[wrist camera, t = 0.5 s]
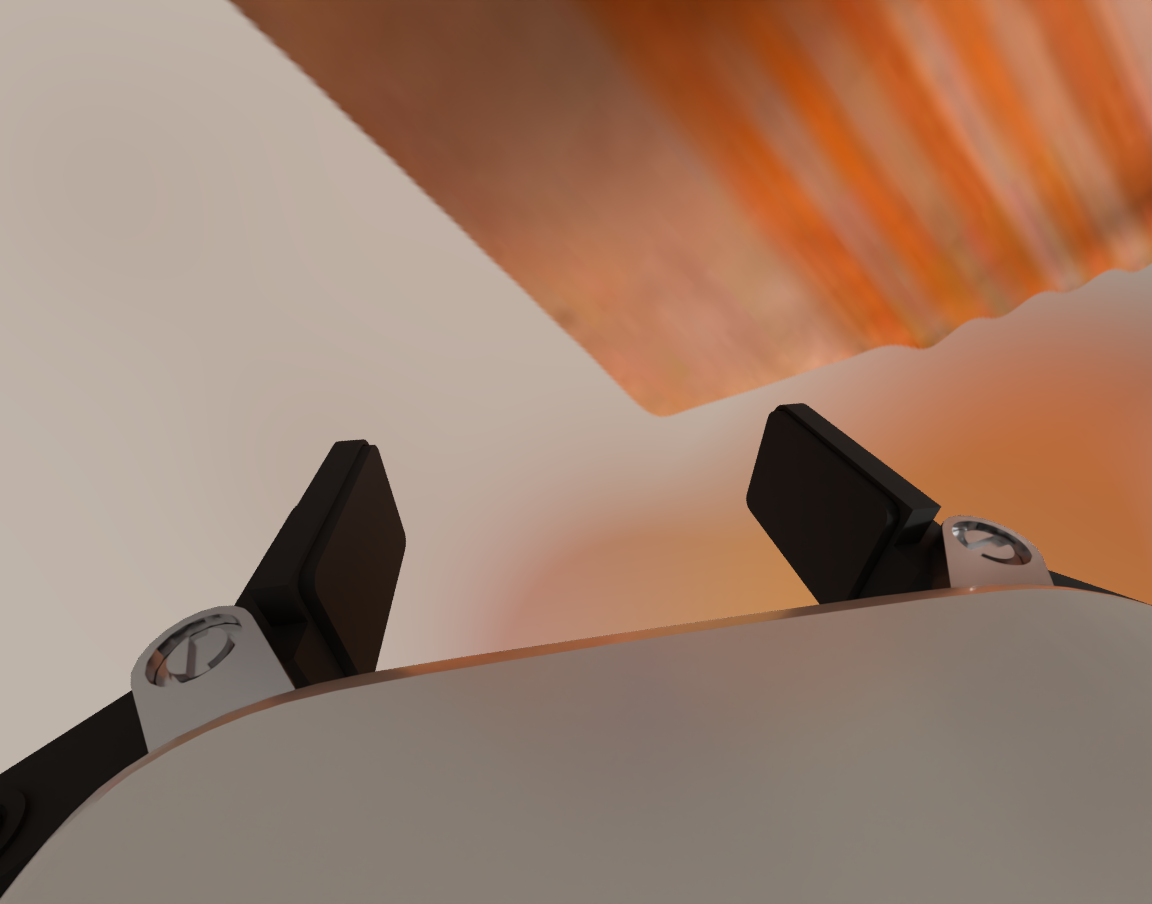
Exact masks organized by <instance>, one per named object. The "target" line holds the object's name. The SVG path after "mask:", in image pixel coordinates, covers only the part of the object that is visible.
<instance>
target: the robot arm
mask: <svg viewBox="0 0 1152 904" xmlns="http://www.w3.org/2000/svg"><path fill="white" fill-rule="evenodd" d="M746 501H747V505H748V508H749V509H750V511H751V512H752V514H753V515H754V517H755V518H756V519H757V521H758V522H759V523H760V525H761V526H762V527H763V529H764V530H765V531H766V533H767V534H768V535H769V537H770V538H771V539H772V541H773V542H774V544H775V545H776V546H777V548H779V550H780V552H781V553H782V554H783V556H784V557H785V558H786V560H787V561H788V562H789V564H790V565H791V566H792V568H793V569H794V570H795V572H796V573H797V574H798V576H799V577H800V578H801V580H802V581H803V583H804V584H805V585H806V586H807V588H808V589H809V590H810V592H811V593H812V595H813V596H814V597H815V599H816V600H817V601H818V603H819V604H820V605H814V606H806V607H799V608H792V609H785V610H777V611H770V612H763V613H757V614H749V615H743V616H736V617H728V618H722V619H715V620H708V621H701V622H695V623H687V624H680V625H673V626H666V627H660V628H653V629H646V630H639V631H633V632H625V633H619V634H612V635H605V636H599V637H592V638H585V639H579V640H572V641H565V642H559V643H552V644H545V645H539V646H532V647H526V648H519V649H512V650H506V651H499V652H493V653H486V654H479V655H473V656H466V657H460V658H454V659H448V660H442V661H436V662H430V663H425V664H418V665H412V666H407V667H400V668H394V669H388V670H382V671H376V672H375V670H376V665H377V662H378V657H379V653H380V649H381V645H382V641H383V637H384V633H385V629H386V625H387V621H388V616H389V612H390V609H391V604H392V600H393V596H394V592H395V588H396V584H397V580H398V576H399V572H400V568H401V564H402V560H403V556H404V552H405V547H406V538H405V532H404V529H403V526H402V523H401V520H400V516H399V513H398V510H397V507H396V504H395V501H394V497H393V494H392V491H391V488H390V484H389V481H388V478H387V475H386V472H385V469H384V466H383V463H382V459H381V456H380V453H379V450H378V448H377V447H376V446H375V445H369V444H368V442H367V441H366V440H364V439H363V440H350V441H339V442H336V443H335V444H334V445H333V447H332V448H331V450H330V452H329V453H328V455H327V457H326V458H325V460H324V462H323V463H322V465H321V467H320V468H319V470H318V472H317V473H316V475H315V477H314V478H313V480H312V482H311V483H310V485H309V487H308V488H307V490H306V492H305V493H304V495H303V497H302V498H301V500H300V502H299V503H298V505H297V506H296V507H295V508H294V509H293V510H292V511H291V513H290V515H289V516H288V518H287V520H286V521H285V523H284V525H283V526H282V528H281V529H280V531H279V533H278V535H277V536H276V538H275V539H274V541H273V543H272V544H271V546H270V548H269V549H268V551H267V552H266V554H265V556H264V557H263V559H262V561H261V562H260V564H259V566H258V567H257V569H256V571H255V572H254V574H253V576H252V577H251V579H250V581H249V582H248V584H247V585H246V587H245V589H244V590H243V592H242V594H241V595H240V597H239V599H238V600H237V602H236V603H235V605H234V606H219V607H215V608H211V609H208V610H204V611H201V612H198V613H196V614H194V615H192V616H190V617H187V618H185V619H183V620H182V621H180V622H179V623H177V624H175V625H174V626H172V627H170V628H169V629H167V630H166V631H165V632H163V633H162V634H161V635H160V636H159V637H158V638H156V639H155V640H154V641H153V642H152V643H151V644H150V645H149V646H148V647H147V648H146V649H145V651H144V652H143V653H142V654H141V656H140V657H139V658H138V660H137V662H136V664H135V666H134V668H133V670H132V672H131V688H132V690H131V691H130V692H128V693H127V694H125V695H124V696H122V697H120V698H119V699H117V700H116V701H114V702H113V703H111V704H110V705H108V706H106V707H105V708H103V709H102V710H100V711H99V712H97V713H95V714H94V715H92V716H91V717H89V718H88V719H86V720H84V721H83V722H81V723H80V724H78V725H77V726H75V727H73V728H72V729H70V730H69V731H68V732H66V733H64V734H62V735H61V736H59V737H58V738H56V739H55V740H53V741H51V742H50V743H48V744H47V745H45V746H44V747H42V748H41V749H39V750H38V751H36V752H34V753H33V754H31V755H30V756H28V757H26V758H25V759H23V760H22V761H20V762H19V763H17V764H16V765H14V766H12V767H11V768H9V769H8V770H6V771H4V772H3V773H1V774H0V904H1152V605H1150V604H1147V603H1144V602H1141V601H1138V600H1135V599H1132V598H1129V597H1126V596H1123V595H1120V594H1117V593H1114V592H1111V591H1108V590H1105V589H1102V588H1099V587H1096V586H1093V585H1091V584H1088V583H1084V582H1082V581H1079V580H1076V579H1073V578H1070V577H1067V576H1064V575H1061V574H1058V573H1055V572H1052V571H1049V570H1048V569H1047V567H1046V564H1045V562H1044V559H1043V557H1042V555H1041V554H1040V552H1039V551H1038V549H1037V548H1036V547H1035V546H1034V545H1033V544H1032V543H1031V542H1029V541H1028V540H1027V539H1026V538H1024V537H1023V536H1021V535H1019V534H1018V533H1016V532H1015V531H1013V530H1011V529H1009V528H1007V527H1005V526H1002V525H1000V524H998V523H995V522H992V521H989V520H986V519H983V518H978V517H973V516H961V515H958V516H953V517H949V518H947V519H946V520H945V521H944V522H943V523H942V525H941V526H940V525H939V524H938V523H937V522H935V521H934V520H933V519H934V518H935V516H936V514H937V513H938V511H939V509H940V508H941V506H940V505H939V504H937V503H936V502H935V501H933V500H932V499H931V498H929V497H928V496H927V495H925V494H924V493H923V492H921V491H920V490H919V489H917V488H916V487H915V486H913V485H912V484H911V483H909V482H908V481H907V480H905V479H904V478H903V477H901V476H900V475H899V474H897V473H896V472H895V471H893V470H892V469H891V468H890V467H888V466H887V465H885V464H884V463H883V462H881V461H880V460H879V459H878V458H876V457H875V456H874V455H872V454H871V453H870V452H868V451H867V450H866V449H864V448H863V447H861V446H860V445H859V444H858V443H856V442H855V441H854V440H852V439H851V438H850V437H848V436H847V435H846V434H844V433H843V432H842V431H840V430H839V429H838V428H837V427H835V426H834V425H832V424H831V423H830V422H829V421H827V420H826V419H825V418H823V417H822V416H821V415H819V414H818V413H817V412H815V411H814V410H813V409H811V408H810V407H809V406H807V405H806V404H803V403H799V404H787V405H779V406H778V407H777V408H776V409H775V410H774V411H773V412H771V413H770V414H769V416H768V419H767V423H766V426H765V430H764V434H763V438H762V441H761V445H760V448H759V452H758V455H757V459H756V463H755V466H754V470H753V474H752V477H751V481H750V485H749V488H748V492H747V497H746Z"/></svg>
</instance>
